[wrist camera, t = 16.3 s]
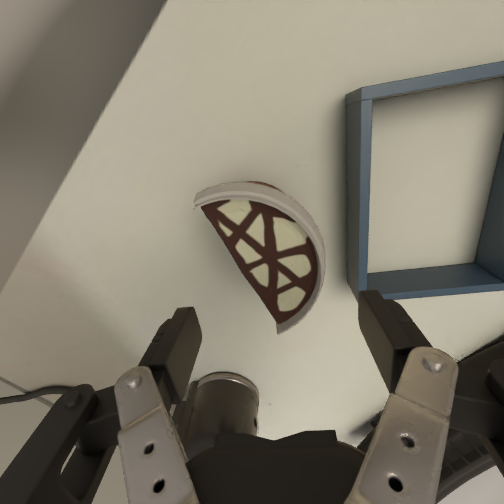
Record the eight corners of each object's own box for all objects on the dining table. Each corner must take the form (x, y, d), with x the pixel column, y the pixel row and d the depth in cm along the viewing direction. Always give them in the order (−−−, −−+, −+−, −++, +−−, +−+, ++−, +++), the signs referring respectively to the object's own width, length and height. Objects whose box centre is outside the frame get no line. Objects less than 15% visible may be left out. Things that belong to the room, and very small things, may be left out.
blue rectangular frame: (346, 281, 29) (357, 303, 25) (345, 94, 21) (361, 87, 18) (481, 268, 27) (513, 289, 23) (531, 60, 20) (590, 44, 16)
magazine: (703, 354, 19) (441, 623, 22) (723, 374, 20) (465, 632, 23) (480, 282, 36) (348, 442, 39) (495, 294, 36) (363, 450, 40)
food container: (329, 250, 27) (358, 310, 18) (277, 274, 29) (280, 339, 20) (275, 139, 23) (278, 147, 14) (217, 174, 25) (187, 201, 16)
